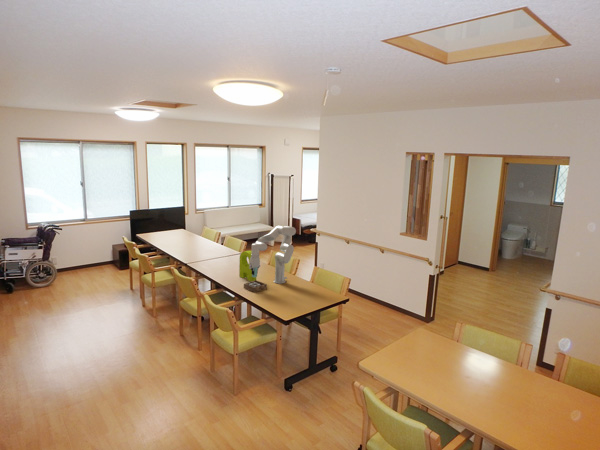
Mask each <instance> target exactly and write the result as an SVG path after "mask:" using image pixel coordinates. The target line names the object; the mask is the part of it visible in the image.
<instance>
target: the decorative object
mask: <svg viewBox="0 0 600 450" xmlns="http://www.w3.org/2000/svg"><path fill="white" fill-rule="evenodd" d="M251 251H252V250H245V251H242V252H240V255H239V270H238V271H239V274H238V275H239V278H241V279H245V278H247V279H246V280H247V281H249V282H252V281H255V280H257V277H252V270H251V269H249V264H250V258H251Z"/></svg>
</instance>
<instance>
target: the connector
mask: <svg viewBox="0 0 600 450" xmlns="http://www.w3.org/2000/svg"><path fill="white" fill-rule="evenodd" d="M252 277H256V278H257V277H258V274H257V267H255V268H254V275H253V274H252Z"/></svg>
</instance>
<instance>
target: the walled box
mask: <svg viewBox="0 0 600 450" xmlns="http://www.w3.org/2000/svg"><path fill="white" fill-rule="evenodd" d="M267 288H268V285H267V283H265V282H262V281H259V280H257V279H256V280H255V281H249V282H245V283H243V289H245V290H247V291H250V292H253V293H256V292H261V291H263V290H267Z"/></svg>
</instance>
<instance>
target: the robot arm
mask: <svg viewBox="0 0 600 450" xmlns="http://www.w3.org/2000/svg"><path fill="white" fill-rule="evenodd" d="M296 232H297V230H296V228H295V227H294V226H290V225H281V224H279V225H276V226H275V227H274V228H273V229H272V230H270V231H269V233H267V234H265V235H263V236H261V237H259V238H258V239H257V240H256V241H255V242H253V243H252V244H251V250H250V251H251V258H250V264H249V263H248V264H249V269H251V270H252V274H253V275H254V268H255V267H257V275H258V271H259V268H260V267H261V260H260V259H261V258H260V252H263V251H264V252H265V251H266V250H267V249H268V244H267V242H272V241H275V240H276V239H277V238H278V237H279V236H280V235H283V239H282V240H281V244H280V246H279V252H278V251H277V252H276V253H275V254H274V262H275V271H274V279H273V283H275V284H278V285H279V284H285V283H286V279H288V277H287V276H285V267H286V266H285V264H289V262H290V261H291V258H292V256H293V254H294V251H295V250H294V249H295V247H294V245H292V244H291V242H292V238H293V237H292V236H294V235H296ZM280 251H281V252H280Z"/></svg>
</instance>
